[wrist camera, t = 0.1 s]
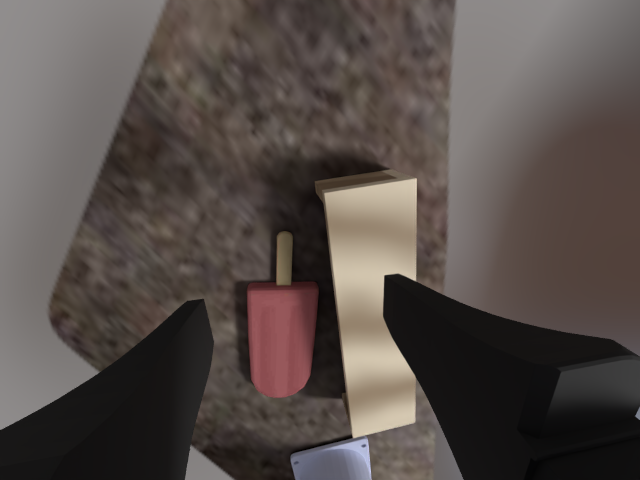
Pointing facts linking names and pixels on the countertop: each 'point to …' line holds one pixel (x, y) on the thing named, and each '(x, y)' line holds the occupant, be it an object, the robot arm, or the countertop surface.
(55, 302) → the countertop surface
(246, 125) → the countertop surface
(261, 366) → the popsicle
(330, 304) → the countertop surface
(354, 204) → the rail
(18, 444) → the robot arm
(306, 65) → the countertop surface
